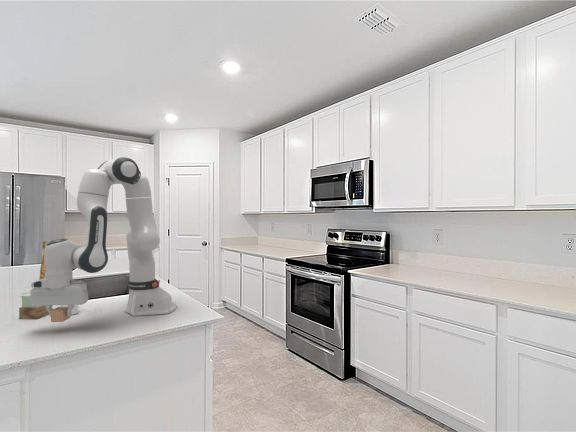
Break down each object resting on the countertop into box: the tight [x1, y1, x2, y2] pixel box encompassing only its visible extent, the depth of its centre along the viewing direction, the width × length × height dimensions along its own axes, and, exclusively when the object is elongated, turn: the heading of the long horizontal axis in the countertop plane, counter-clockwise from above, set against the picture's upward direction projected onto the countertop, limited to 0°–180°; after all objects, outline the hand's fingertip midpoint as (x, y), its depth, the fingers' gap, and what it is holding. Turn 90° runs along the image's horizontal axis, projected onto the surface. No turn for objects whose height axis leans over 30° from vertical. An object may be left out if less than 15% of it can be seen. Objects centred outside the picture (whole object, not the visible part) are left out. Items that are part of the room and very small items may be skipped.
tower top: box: [21, 292, 41, 308], centre depth 145 cm, size 7×7×5 cm
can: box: [60, 305, 79, 316], centre depth 148 cm, size 6×6×12 cm
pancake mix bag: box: [38, 241, 50, 280], centre depth 183 cm, size 7×19×28 cm, turn 52°
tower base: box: [18, 306, 49, 320], centre depth 145 cm, size 8×8×5 cm
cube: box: [50, 306, 71, 323], centre depth 128 cm, size 4×4×4 cm
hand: (60, 315), depth 128 cm, fingers closed on cube, 4 cm apart
